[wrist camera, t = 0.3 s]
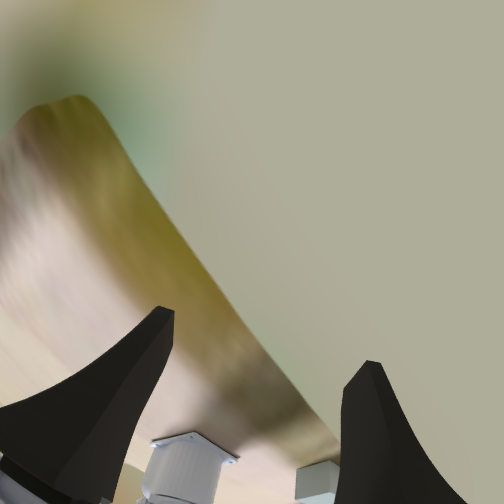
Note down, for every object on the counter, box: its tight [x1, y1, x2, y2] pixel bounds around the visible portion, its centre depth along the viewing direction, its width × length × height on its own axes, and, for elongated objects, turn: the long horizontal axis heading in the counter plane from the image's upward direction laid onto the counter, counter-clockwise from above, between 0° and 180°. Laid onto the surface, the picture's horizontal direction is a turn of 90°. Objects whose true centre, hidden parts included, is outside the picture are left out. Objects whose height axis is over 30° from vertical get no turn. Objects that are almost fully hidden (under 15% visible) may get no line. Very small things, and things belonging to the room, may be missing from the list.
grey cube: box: [295, 460, 340, 504], centre depth 31 cm, size 5×5×5 cm
